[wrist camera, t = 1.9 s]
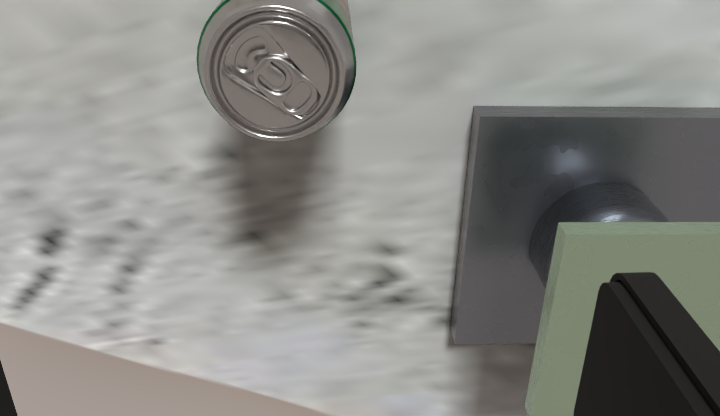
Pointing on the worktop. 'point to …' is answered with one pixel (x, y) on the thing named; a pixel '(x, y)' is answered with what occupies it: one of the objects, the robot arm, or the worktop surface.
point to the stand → (582, 227)
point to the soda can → (278, 65)
